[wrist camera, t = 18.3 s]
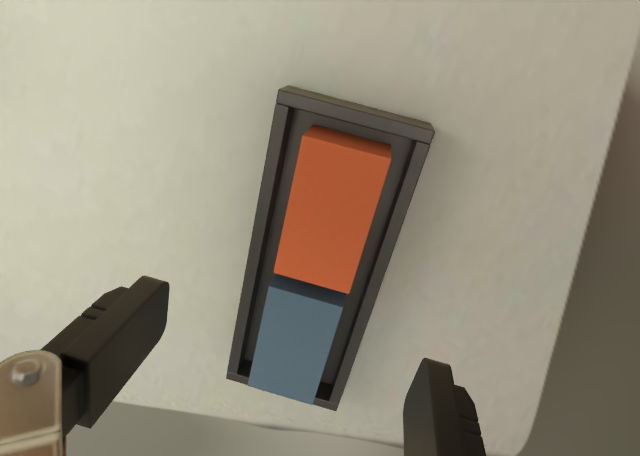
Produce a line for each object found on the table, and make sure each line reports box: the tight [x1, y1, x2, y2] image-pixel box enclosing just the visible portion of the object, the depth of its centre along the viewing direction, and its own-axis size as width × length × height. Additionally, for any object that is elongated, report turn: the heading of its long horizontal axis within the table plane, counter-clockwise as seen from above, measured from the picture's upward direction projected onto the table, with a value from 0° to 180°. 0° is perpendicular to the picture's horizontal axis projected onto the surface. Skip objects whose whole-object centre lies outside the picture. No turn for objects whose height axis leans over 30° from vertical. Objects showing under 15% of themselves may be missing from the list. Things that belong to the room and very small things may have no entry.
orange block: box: [274, 125, 391, 294], centre depth 26 cm, size 9×5×4 cm, turn 167°
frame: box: [226, 86, 435, 411], centre depth 29 cm, size 23×9×2 cm, turn 167°
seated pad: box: [248, 273, 346, 405], centre depth 30 cm, size 9×5×4 cm, turn 167°
